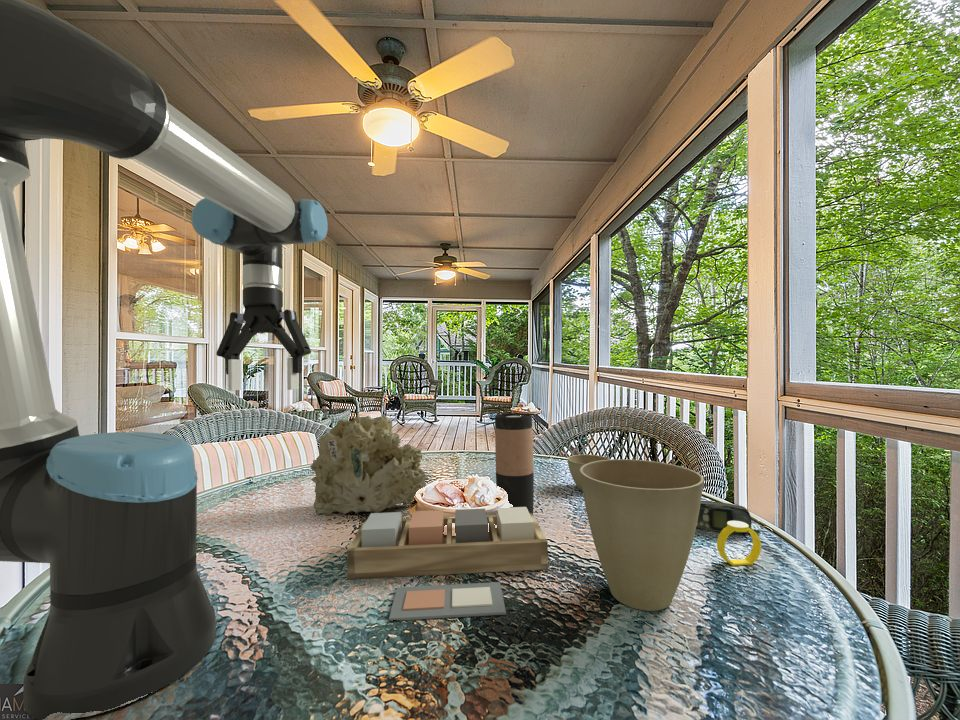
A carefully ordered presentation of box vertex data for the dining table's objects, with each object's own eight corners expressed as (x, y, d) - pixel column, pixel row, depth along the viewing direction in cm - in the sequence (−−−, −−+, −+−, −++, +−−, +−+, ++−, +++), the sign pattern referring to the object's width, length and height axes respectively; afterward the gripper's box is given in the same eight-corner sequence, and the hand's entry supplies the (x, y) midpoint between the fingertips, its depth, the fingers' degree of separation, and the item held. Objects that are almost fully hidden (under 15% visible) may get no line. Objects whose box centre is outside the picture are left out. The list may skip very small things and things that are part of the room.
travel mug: (503, 523, 80) (501, 418, 80) (491, 510, 87) (489, 413, 87) (540, 518, 82) (538, 416, 82) (526, 506, 89) (524, 412, 89)
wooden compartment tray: (548, 569, 61) (547, 541, 61) (347, 579, 60) (347, 551, 60) (533, 535, 73) (532, 513, 73) (365, 543, 72) (365, 520, 72)
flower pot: (566, 493, 97) (565, 462, 97) (569, 481, 107) (569, 453, 107) (611, 496, 94) (610, 464, 94) (610, 484, 104) (610, 455, 104)
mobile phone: (663, 499, 77) (760, 509, 70) (664, 495, 80) (758, 503, 73) (664, 527, 77) (762, 539, 70) (665, 521, 80) (759, 532, 73)
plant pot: (628, 643, 45) (624, 494, 45) (562, 577, 59) (560, 464, 59) (737, 617, 49) (733, 480, 49) (651, 560, 63) (649, 455, 63)
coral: (433, 502, 93) (431, 412, 93) (425, 519, 83) (423, 418, 83) (323, 502, 94) (321, 414, 94) (302, 519, 84) (300, 419, 85)
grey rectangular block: (488, 544, 63) (488, 524, 63) (455, 545, 63) (455, 525, 63) (485, 526, 70) (485, 508, 70) (455, 527, 70) (455, 509, 70)
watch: (727, 571, 60) (723, 530, 60) (715, 562, 63) (711, 522, 63) (766, 565, 61) (762, 525, 61) (753, 557, 64) (749, 518, 64)
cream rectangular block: (534, 541, 64) (533, 522, 64) (501, 543, 64) (501, 523, 64) (526, 524, 71) (526, 506, 71) (497, 525, 71) (496, 508, 71)
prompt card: (506, 614, 50) (505, 610, 50) (388, 621, 50) (388, 616, 50) (499, 584, 57) (499, 580, 57) (397, 589, 57) (397, 585, 57)
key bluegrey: (395, 548, 63) (395, 528, 63) (361, 550, 62) (361, 529, 62) (401, 530, 70) (401, 512, 70) (371, 531, 69) (370, 513, 69)
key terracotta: (442, 546, 63) (442, 526, 63) (409, 547, 63) (408, 527, 63) (443, 528, 70) (443, 510, 70) (413, 529, 70) (413, 511, 70)
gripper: (327, 289, 89) (328, 388, 89) (224, 294, 94) (224, 389, 93) (306, 281, 82) (307, 390, 81) (196, 288, 86) (196, 391, 86)
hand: (263, 390), depth 87 cm, fingers open, 13 cm apart
